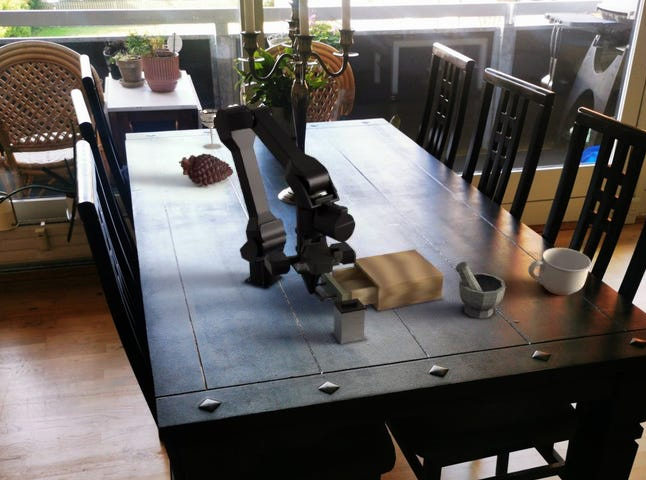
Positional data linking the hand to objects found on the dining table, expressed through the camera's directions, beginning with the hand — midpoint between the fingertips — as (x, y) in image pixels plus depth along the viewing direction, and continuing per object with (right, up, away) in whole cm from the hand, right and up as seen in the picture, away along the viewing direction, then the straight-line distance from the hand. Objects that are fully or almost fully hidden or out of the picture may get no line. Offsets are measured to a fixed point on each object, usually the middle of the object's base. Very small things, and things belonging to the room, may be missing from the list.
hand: (310, 294), depth 158 cm
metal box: (+8, -10, -9) cm, 15 cm away
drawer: (+9, 0, +4) cm, 10 cm away
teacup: (+56, +2, +10) cm, 56 cm away
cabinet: (+19, +1, +8) cm, 21 cm away
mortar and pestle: (+36, -4, +1) cm, 36 cm away
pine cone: (-34, +40, +66) cm, 84 cm away
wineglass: (-38, +60, +98) cm, 121 cm away
